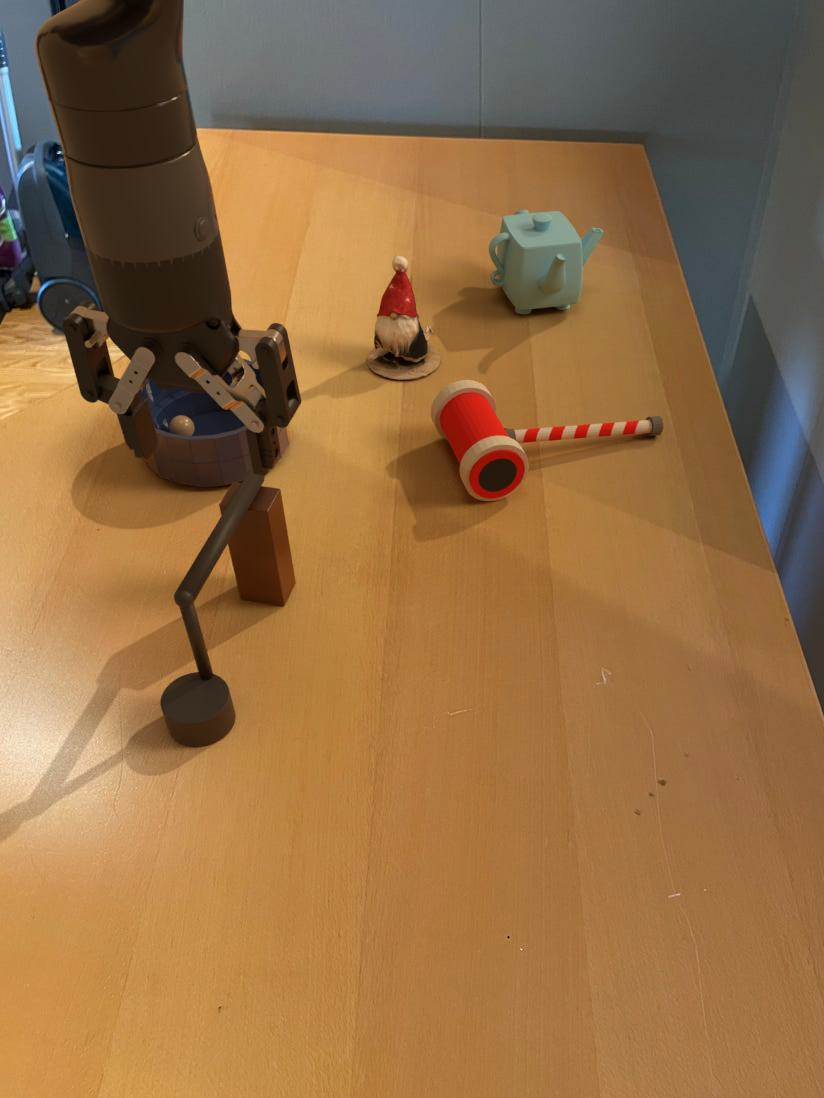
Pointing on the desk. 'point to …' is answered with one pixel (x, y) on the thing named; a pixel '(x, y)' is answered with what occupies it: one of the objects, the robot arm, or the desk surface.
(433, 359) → the figurine
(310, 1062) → the desk surface
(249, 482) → the ladle
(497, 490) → the toy hammer
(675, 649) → the desk surface
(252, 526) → the upright brown pillar
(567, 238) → the teapot
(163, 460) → the bowl
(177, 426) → the bead
